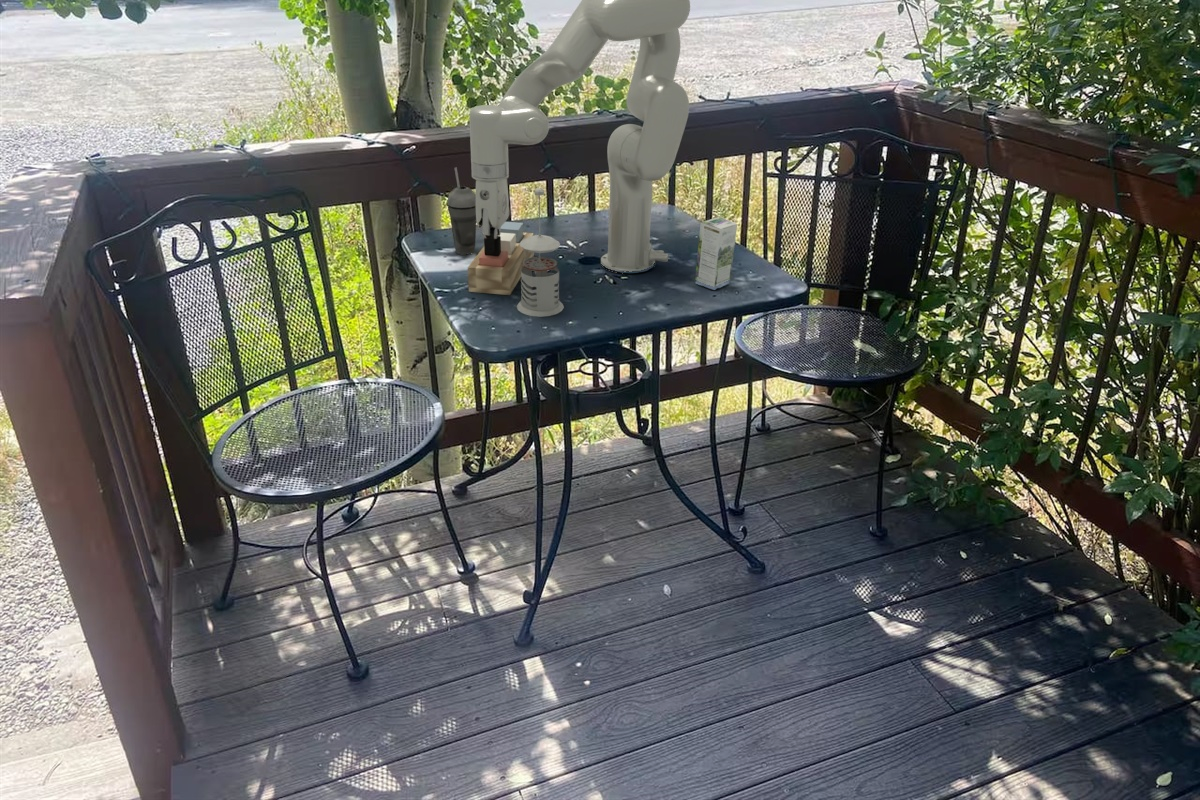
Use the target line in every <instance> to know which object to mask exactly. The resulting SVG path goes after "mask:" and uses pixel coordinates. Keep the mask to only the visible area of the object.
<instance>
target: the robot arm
mask: <svg viewBox="0 0 1200 800" xmlns="http://www.w3.org/2000/svg"><path fill="white" fill-rule="evenodd" d="M690 10H691V1H690V0H581V1H580V2H579V4H578V5H577V7H576V8H575V10H574V11H573V13H572V14H571V16H570V17H569V19H568V20H567V21H566V23H565V25H564V26H563V27H562V29H561V30H560V31H559V33H558V35H557V36H556V37H555V39H554V41H553V42H552V43H551V45H550V46H549V47H548V49H546V51H545V52H544V53H543V52H542V53H541V55H539V56H538V57H537V58H536V59H535V60H534V61H533V62H531V63H530V64H529V65H528V66H526V68H525V69H523V70H522V71H521V72H520V73H519V74H518V75H517V77H516V78H515V80H514V81H513V82H512V84H510V86H509V88H508V90H507V91H506V92H505V93H504V95H503V97H502V98H501V100H500V102H499V104H498V105H495V104H494V105H493V104H481V105H476V106H474V107H472V108H471V109H470V112H469V116H468V118H469V136H470V137H469V138H470V139H469V141H470V143H469V144H470V145H469V146H470V163H471V165H470V166H471V178H472V179H474V180H475V195H476V227H477V226H478V228H482V235H483V242H484V243H483V247H484V251H485V255H487V256H499V255H500V254H501V236H500V232H501V226H502V225H503V224H504V222H507V220H508V219H509V218H510V217H509V216H510V202H509V201H510V200H509V188H508V178H509V176H510V175H509V174H510V173H509V172H510V171H509V145H519V146H520V145H522V146H530V145H531V146H534V145H536V144H539V143H541V142H542V141H543V140H545V138H546V137H547V136H548V133H549V130H550V123H549V119H548V117H547V115H546V114H545V113H544V111H542V110H541V109H539V108H538V107H539V106H540V105H541V104H542V101H543V100H544V99H546V98H547V96H548V95H549V94H550V93H552V92H553V91H554V90H556V89H558V88H560V87H562V86H565V85H568V84H571V83H573V82H575V81H577V80H579V79H580V78H583V77H584V75H585V74H586V73H587V71H588V69H589V68H590V66H591V65H592V63H593V62H594V60H595V59H596V58H597V56H598V55H599V53H600V52H601V51H602V49H603V48H604V46H605V45H606V43H607V42H608V41H612V42H627V41H634V40H639V50H638V54H637V58H636V63H635V66H634V70H633V74H632V77H631V79H630V82H629V83H630V84H629V88H628V91H627V95H626V100H625V102H626V107H627V110H628V112H629V113H630V114H631V115H632V116H634V117H635V118H637V119H638V120H640V121H642V122H643V124H642V126H641V125H638V124H633V123H626V124H622V125H620V126H618V127H617V128H615V129H614V131H613V132H612V133H611V135H610V136H609V139H608V142H607V163H608V171H609V204H608V205H609V207H608V232H607V233H608V237H607V238H608V239H607V243H608V244H607V253H605V254H604V255H602V256H601V257H600V264H602V265H603V266H605V267H606V268H608V269H611V270H615V271H624V272H626V271H629V272H632V271H641V270H644V269H647V268H649V267H651V266H653V264H654V263H655V264H656V262H662V263H663V262H664V263H667V262H668V261H669V259H668V258H669V253H665V251H664V250H661V249H659V250H656V249H654V248H653V247H652V246H653V245H652V243H650V240H651V238H650V237H651V221H652V219H651V218H652V201H653V182H657V181H659V180H662V179H663V178H665V177H666V176H667V175H668V173H669V172H670V171H671V169H672V167H673V166H674V165H673V164H674V163H675V160H676V157H677V154H678V151H679V148H680V145H681V141H682V138H683V135H684V132H685V128H686V125H687V123H688V122H687V121H688V118H689V115H690V114H689V112H690V100H689V97H688V93H687V91H686V90H685V89H684V88H683V87H682V85H680V84H679V83H677V82H676V81H674V79H675V76H676V72H677V67H678V64H679V59H680V55H681V54H680V53H681V36H680V31H679V29H680V28H681V27H683V25H684V24H685V23H686V21H687V20H688V18H689V15H690V12H691V11H690ZM602 265H601V266H602ZM603 266H602V267H603Z"/></svg>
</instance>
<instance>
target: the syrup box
mask: <svg viewBox="0 0 1200 800" xmlns="http://www.w3.org/2000/svg"><path fill="white" fill-rule="evenodd" d="M699 227H700V228H699V235H698V236H699V237H698V247H697V254H696V255H697V256H696V265H695V266H696V267H695V275H694V276H695V277H694V281H695V280H697V281H699V282H701V283H704V284H706V285H710V286H713V287H716V286H718V285H719V284H722V283H724V282H726V281H728V280H730V281H731V278H732V267H733V263H734V261H733V260H734V253H735V246H736V245H735V244H736V236H737V228H738V224H737V223H736V222H734V221H732V220H729V219H727V218H723V217H720V216H719V217H718V216H717V217H716V216H715V217H714V218H711V219H707V220H705V221H702V222H700V225H699Z"/></svg>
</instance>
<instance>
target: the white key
mask: <svg viewBox="0 0 1200 800" xmlns="http://www.w3.org/2000/svg"><path fill="white" fill-rule="evenodd" d="M500 236H501V251H508V255H512V254H513V252H514V251H515V249H516V234H513V233H500Z"/></svg>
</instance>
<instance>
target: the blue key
mask: <svg viewBox="0 0 1200 800" xmlns="http://www.w3.org/2000/svg"><path fill="white" fill-rule="evenodd" d="M523 232H524V222H514V221H505V222H504V224H503V225H502V226H501V232H500V233H513V234H516V243H520V242H521V240H522V239H523V237H524V236H523Z"/></svg>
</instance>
